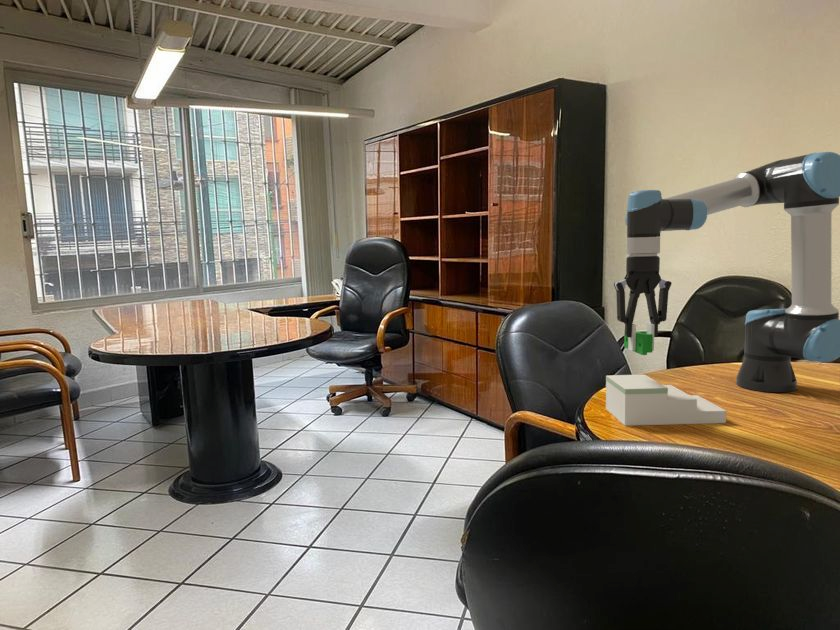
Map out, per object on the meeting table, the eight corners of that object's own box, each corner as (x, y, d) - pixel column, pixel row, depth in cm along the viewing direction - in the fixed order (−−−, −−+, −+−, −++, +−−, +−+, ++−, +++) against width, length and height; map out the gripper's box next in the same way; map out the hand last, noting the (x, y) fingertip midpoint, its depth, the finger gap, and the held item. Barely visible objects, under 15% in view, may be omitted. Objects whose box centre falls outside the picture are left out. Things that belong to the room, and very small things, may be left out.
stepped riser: (696, 406, 143) (697, 372, 142) (725, 423, 129) (727, 386, 128) (605, 408, 144) (605, 375, 143) (624, 425, 130) (625, 389, 129)
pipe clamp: (657, 355, 129) (658, 336, 129) (642, 355, 129) (642, 336, 129) (638, 346, 141) (638, 329, 140) (624, 347, 141) (624, 329, 140)
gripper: (670, 254, 135) (668, 346, 138) (603, 256, 136) (601, 348, 138) (685, 254, 128) (682, 352, 131) (613, 256, 128) (611, 353, 131)
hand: (640, 349), depth 135 cm, fingers closed on pipe clamp, 4 cm apart
